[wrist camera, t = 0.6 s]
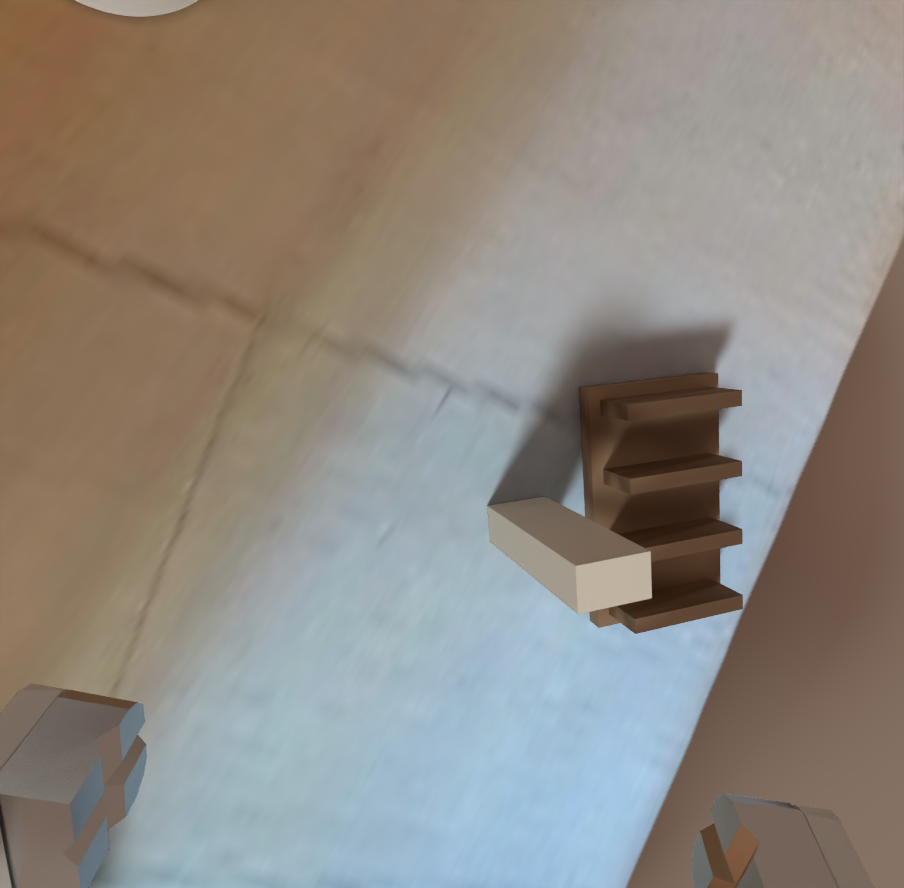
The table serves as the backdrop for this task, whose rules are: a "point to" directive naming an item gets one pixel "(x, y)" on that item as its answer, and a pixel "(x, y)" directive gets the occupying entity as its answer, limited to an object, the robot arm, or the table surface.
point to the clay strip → (571, 554)
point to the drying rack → (662, 490)
